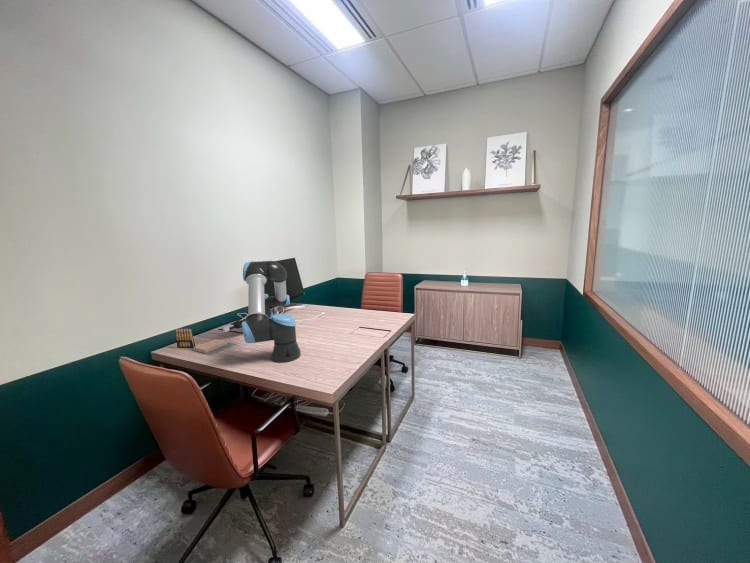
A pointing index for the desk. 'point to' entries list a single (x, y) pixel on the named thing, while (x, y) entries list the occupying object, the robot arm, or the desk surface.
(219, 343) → the pale rectangular block
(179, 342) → the ammunition clip
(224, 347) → the rubber mat
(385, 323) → the desk surface
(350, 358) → the desk surface
